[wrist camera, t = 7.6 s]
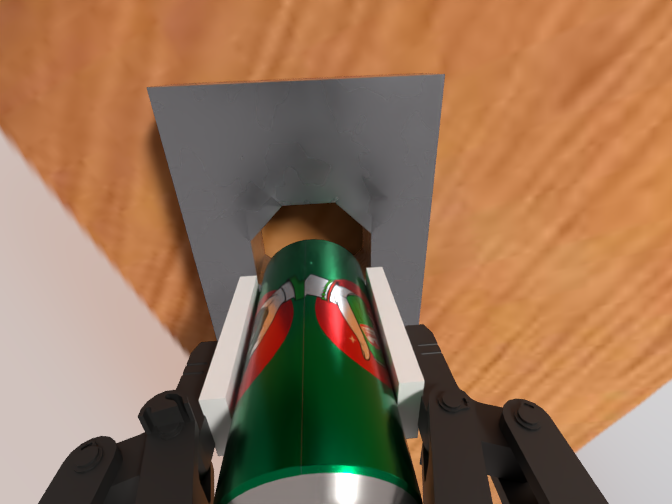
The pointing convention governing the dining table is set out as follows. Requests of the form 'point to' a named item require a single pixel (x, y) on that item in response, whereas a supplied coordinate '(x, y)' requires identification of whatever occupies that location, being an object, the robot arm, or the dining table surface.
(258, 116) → the plate
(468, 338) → the dining table surface
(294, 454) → the soda can
